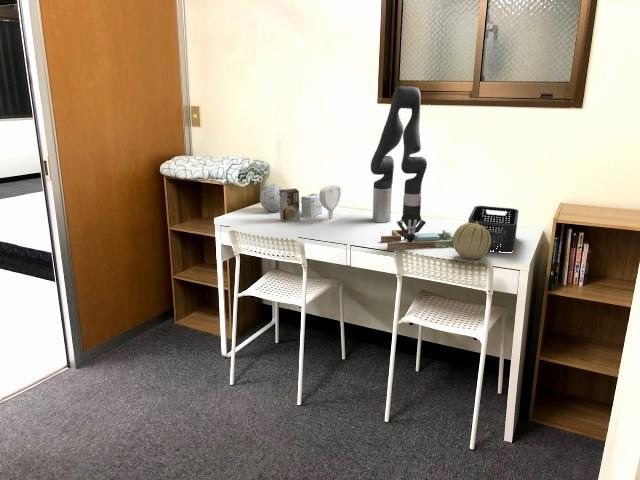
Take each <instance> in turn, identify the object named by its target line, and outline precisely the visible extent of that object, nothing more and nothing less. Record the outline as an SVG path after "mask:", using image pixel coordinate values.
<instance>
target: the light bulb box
mask: <svg viewBox="0 0 640 480" xmlns="http://www.w3.org/2000/svg"><path fill="white" fill-rule="evenodd" d="M319 195H320V193H310V194H305V195H303V196H301V197H300V199H301V200H300V201H301V216H302V217H307V218H313V217H317V216H319V215H322V214H323V206H322V205H321V202H320V197H319Z"/></svg>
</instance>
